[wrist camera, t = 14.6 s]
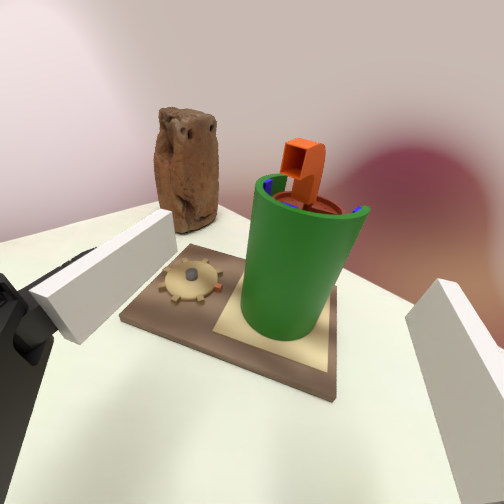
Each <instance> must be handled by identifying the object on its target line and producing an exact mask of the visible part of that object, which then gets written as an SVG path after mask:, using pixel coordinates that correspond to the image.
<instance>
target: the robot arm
mask: <svg viewBox="0 0 504 504" xmlns="http://www.w3.org/2000/svg"><path fill="white" fill-rule="evenodd" d="M176 252H178V251H177V244H176V237H175V230H174V223H173V215H172V211H168V210H164V209H158V210H157V211H155V212H153V213H152V214H150V215H149V216H147V217H145V218H144V219H142V220H141V221H139V222H137V223H136V224H134V225H133V226H131V227H129V228H128V229H126V230H125V231H123V232H121V233H120V234H118V235H117V236H115V237H113V238H112V239H110V240H109V241H107V242H105V243H104V244H102V245H101V246H99V247H95V248H92V249H90V250H87V251H84V252H82V253H80V254H79V255H77V256H75V257H74V258H72V259H71V261H67V262H66V263H64V264H62V266H61V267H60V266H59V267H57V268H56V269H54V270H52V271H51V272H49V273H47V274H46V275H44V276H42V277H41V278H39V279H38V280H36V281H34V282H33V283H31V284H29V285H28V286H26V287H24V288H23V289H21V290H19V291H16V289H15V288H14V287H13V286H12V284H11V283H10V282H9V281H8V279H7V278H6V277H5V276H4V275H3V274H2V273H0V504H4V502H5V498H6V495H7V492H8V489H9V485H10V482H11V479H12V476H13V472H14V469H15V466H16V463H17V459H18V456H19V453H20V450H21V446H22V443H23V440H24V437H25V433H26V430H27V427H28V424H29V420H30V417H31V414H32V411H33V407H34V404H35V401H36V398H37V394H38V391H39V388H40V385H41V381H42V378H43V375H44V372H45V368H46V365H47V362H48V359H49V355H50V352H51V349H52V346H53V342H54V337H53V336H52V334H54V333H55V332H56V331H57V330H59V332H60V333H61V334H62V336H63V337H64V338H65V339H67V340H69V341H72V342H74V343H76V344H79V345H81V344H82V343H83V342H84V341H85V340H86V339H87V338H88V337H89V336H90V335H91V334H92V333H93V332H94V331H95V330H96V329H97V328H98V327H100V326H101V325H102V324H103V323H104V322H105V321H106V320H107V319H108V318H109V317H110V316H111V315H112V314H113V313H114V312H115V311H116V310H117V309H118V308H119V307H120V306H121V305H122V304H123V303H124V302H126V301H127V300H128V299H129V298H130V297H131V296H132V295H133V294H134V293H135V292H136V291H137V290H138V289H139V288H140V287H141V286H142V285H143V284H144V283H145V282H146V281H147V280H148V279H149V278H150V277H152V276H153V275H154V274H155V273H156V272H157V271H158V270H159V269H160V268H161V267H162V266H163V265H164V264H165V263H166V262H167V261H168V260H169V259H170V258H171V257H172V256H173V255H174V254H175V253H176ZM405 319H406V323H407V326H408V329H409V333H410V336H411V339H412V343H413V346H414V349H415V352H416V356H417V359H418V362H419V366H420V369H421V372H422V375H423V379H424V382H425V385H426V389H427V392H428V395H429V399H430V402H431V405H432V408H433V412H434V415H435V418H436V422H437V425H438V428H439V431H440V435H441V438H442V441H443V445H444V448H445V451H446V455H447V458H448V461H449V464H450V468H451V471H452V474H453V478H454V481H455V484H456V488H457V491H458V494H459V497H460V501H461V504H504V355H503V354H502V352H501V351H500V349H499V347H498V346H497V344H496V343H495V341H494V340H493V338H492V337H491V335H490V333H489V332H488V330H487V329H486V327H485V326H484V324H483V323H482V321H481V319H480V318H479V316H478V315H477V313H476V312H475V310H474V308H473V307H472V305H471V304H470V302H469V301H468V299H467V298H466V296H465V294H464V293H463V291H462V290H461V288H460V287H459V285H458V284H457V283H455V282H451V281H447V280H443V279H439V278H437V279H436V281H435V282H434V283H433V284H432V285H431V286H430V288H429V289H428V290H427V291H426V292H425V294H424V295H423V296H422V297H421V298H420V300H419V301H418V302H417V303H416V304H415V306H414V307H413V308H412V309H411V310H410V312H409V313H408V314H407V315H406V316H405Z"/></svg>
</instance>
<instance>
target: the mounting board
mask: <svg viewBox="0 0 504 504" xmlns="http://www.w3.org/2000/svg"><path fill="white" fill-rule="evenodd" d="M245 262H246V260H245V259H242V258H238V257H235V256H232V255H228V254H225V253H221V252H218V251H214V250H211V249H207V248H204V247H200V246H197V245H193V244H189V245H188V246H187V247H186V248H185V249H184V250H183V251H182V252H181V253H180V254H179V255H178V256H177V257H176V258H175V259H174V260H173V261H172V262H171V263H170V264H169V265H168V266H167V267H165V268H164V269H163V270H162V272H161V273H160V274H159V275H158V276H157V277H156V278H155V279H154V280H153V281H152V282H151V283H150V284H149V285H148V286H147V287H146V288H145V289H144V290H143V291H142V292H141V293H140V294H139V295H138V296H137V297H136V298H135V299H134V300H133V301H132V302H131V303H130V304H129V305H128V306H127V307H126V308H125V309H124V310H123V311H122V312H121V313H120V314H119V317H120V320H121V321H122V322H125V323H127V324H130V325H133V326H135V327H138V328H140V329H143V330H146V331H148V332H151V333H153V334H156V335H159V336H161V337H164V338H166V339H169V340H172V341H174V342H177V343H179V344H182V345H185V346H187V347H190V348H192V349H195V350H197V351H200V352H203V353H205V354H208V355H210V356H213V357H216V358H218V359H221V360H223V361H226V362H229V363H231V364H234V365H236V366H239V367H242V368H244V369H247V370H249V371H252V372H255V373H257V374H260V375H262V376H265V377H268V378H270V379H273V380H275V381H278V382H280V383H283V384H286V385H288V386H291V387H293V388H296V389H299V390H301V391H304V392H306V393H309V394H312V395H314V396H317V397H319V398H322V399H325V400H327V401H330V402H333V401H334V400H335V399H336V366H337V286H335V285H334V287H333V289H332V291H331V293H330V295H329V298H328V300H327V302H326V304H325V306H324V308H323V310H322V312H321V314H320V316H319V319H318V321H317V323H316V325H315V327H314V328H313V330H312V331H311V332H310V333H309V334H308V335H306V336H305V337H303V338H300V339H297V340H293V341H280V340H275V339H271V338H268V337H266V336H264V335H262V334H260V333H258V332H257V331H256V330H254V329H253V328H252V327H251V326H250V325H249V324H248V323H247V321H246V320H245V318H244V316H243V314H242V311H241V306H240V302H241V294H242V286H243V278H244V270H245Z"/></svg>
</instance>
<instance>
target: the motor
mask: <svg viewBox="0 0 504 504" xmlns="http://www.w3.org/2000/svg"><path fill="white" fill-rule="evenodd" d="M324 162H325V145H324V144H321V143H317V142H313V141H309V140H305V139H301V138H297V139H294V140H291V141H288V142H286V143H285V148H284V153H283V159H282V164H281V169H280V173H281V174H271V175H266V176H263V177H261V178H260V179H258V180H257V181H256V184H255V192H254V200H253V208H252V215H251V223H250V231H249V239H248V247H247V254H246V262H245V270H244V278H243V286H242V294H241V302H240V306H241V311H242V314H243V316H244V318H245V320H246V321H247V323H248V324H249V325H250V326H251V327H252V328H253V329H254V330H256V331H257V332H258V333H260V334H262V335H264V336H266V337H268V338H271V339H275V340H280V341H293V340H297V339H300V338H303V337H305V336H306V335H308V334H309V333H310V332H311V331H312V330H313V328H314V327H315V325H316V323H317V321H318V319H319V316H320V314H321V312H322V310H323V308H324V306H325V304H326V302H327V300H328V298H329V295H330V293H331V291H332V289H333V287H334V285H335V283H336V281H337V279H338V277H339V274H340V272H341V270H342V268H343V266H344V264H345V262H346V260H347V258H348V256H349V253H350V251H351V249H352V247H353V245H354V243H355V241H356V238H357V237H358V235H359V232H360V230H361V228H362V226H363V224H364V222H365V220H366V218H367V216H368V213H369V211H370V207H367V206H364V205H362V207H357V208H356V209H355V210H354V211H353V213H351V214H346V213H345V211H344V209H343V208H342V207H341V206H340V205H338V204H337V203H335V202H334V201H331V200H329V199H327V198H325V197H322V196H319V195H318V190H319V186H320V181H321V177H322V173H323V168H324ZM288 176H289V177H292V178H294V183H293V188H292V191H285V186H286V181H287V177H288Z"/></svg>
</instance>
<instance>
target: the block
mask: <svg viewBox="0 0 504 504" xmlns="http://www.w3.org/2000/svg"><path fill="white" fill-rule="evenodd" d="M159 122H160V132H159V134H158V136H157V141H156V147H155V153H154V172H155V180H156V187H157V193H158V199H159V204H160V209H164V210H168V211H172V215H173V223H174V230H175V231H176V232H179V233H184V232H188V231H190V230H195V229H199V228H201V227H203V226H205V225H207V224H209V223H211V222H212V221H213V220H214V219H215V217H216V215H217V208H218V191H219V182H218V177H219V165H218V164H219V159H218V157H219V156H218V141H217V138H216V127H217V121H216V119H215V117H214V116H212V115H210V114H205V113H203V112H200V111H196V110H192V109H177V108H175V107H167V108H162V109H160V110H159Z"/></svg>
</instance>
